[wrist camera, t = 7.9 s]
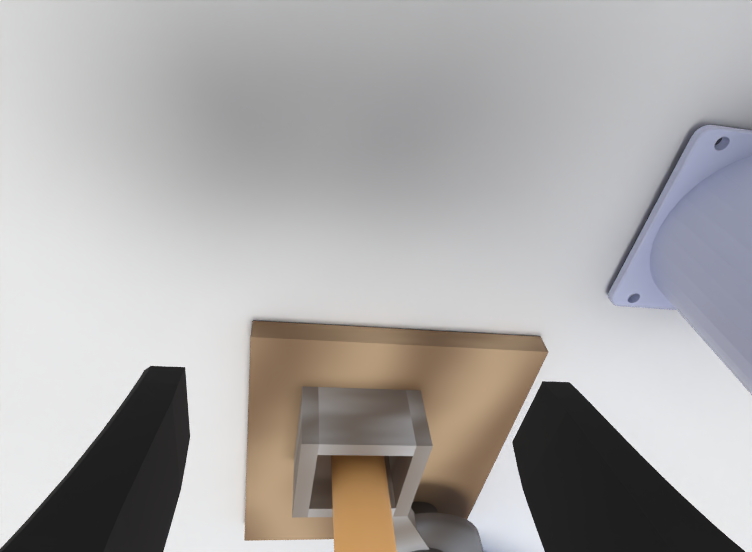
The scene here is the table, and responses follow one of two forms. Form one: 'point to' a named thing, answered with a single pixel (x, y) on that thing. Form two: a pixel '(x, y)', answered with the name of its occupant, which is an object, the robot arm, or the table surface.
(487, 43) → the table surface
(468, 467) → the wooden board with socket
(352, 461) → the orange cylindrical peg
